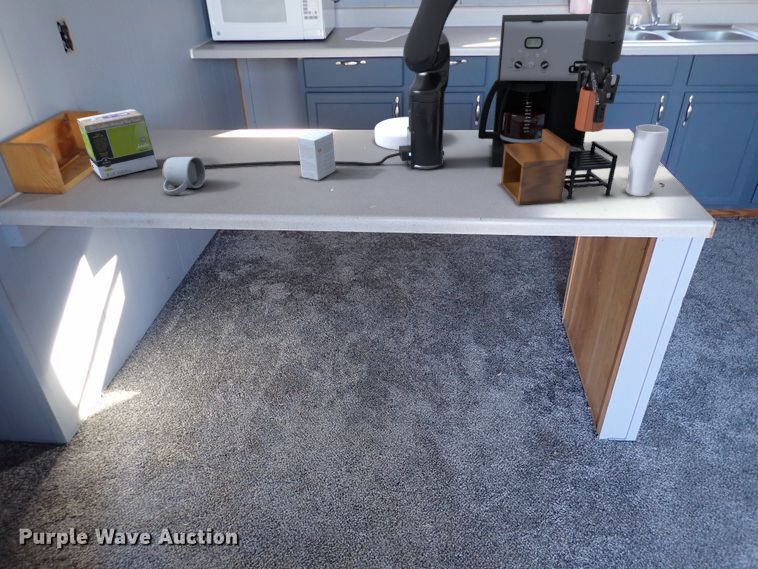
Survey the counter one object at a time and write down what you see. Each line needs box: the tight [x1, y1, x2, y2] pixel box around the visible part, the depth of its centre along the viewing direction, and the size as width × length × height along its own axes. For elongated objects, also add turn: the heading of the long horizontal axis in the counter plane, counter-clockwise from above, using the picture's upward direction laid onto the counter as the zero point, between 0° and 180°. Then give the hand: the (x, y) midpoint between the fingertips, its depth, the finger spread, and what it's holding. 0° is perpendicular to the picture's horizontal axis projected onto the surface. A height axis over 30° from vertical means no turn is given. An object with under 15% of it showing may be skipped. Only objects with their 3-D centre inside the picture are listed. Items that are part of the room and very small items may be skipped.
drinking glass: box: [625, 123, 670, 197], centre depth 123 cm, size 7×7×15 cm
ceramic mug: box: [161, 156, 206, 196], centre depth 136 cm, size 11×8×8 cm
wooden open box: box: [500, 129, 570, 206], centre depth 125 cm, size 10×13×13 cm
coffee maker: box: [477, 13, 590, 170], centre depth 142 cm, size 28×20×35 cm
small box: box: [297, 129, 336, 181], centre depth 141 cm, size 8×6×10 cm
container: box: [374, 116, 409, 151], centre depth 166 cm, size 20×20×5 cm
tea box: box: [76, 108, 158, 180], centre depth 147 cm, size 15×10×15 cm, turn 126°
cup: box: [575, 87, 611, 133], centre depth 120 cm, size 6×6×8 cm
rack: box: [564, 140, 619, 200], centre depth 127 cm, size 10×11×10 cm
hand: (590, 118), depth 121 cm, fingers closed on cup, 6 cm apart
